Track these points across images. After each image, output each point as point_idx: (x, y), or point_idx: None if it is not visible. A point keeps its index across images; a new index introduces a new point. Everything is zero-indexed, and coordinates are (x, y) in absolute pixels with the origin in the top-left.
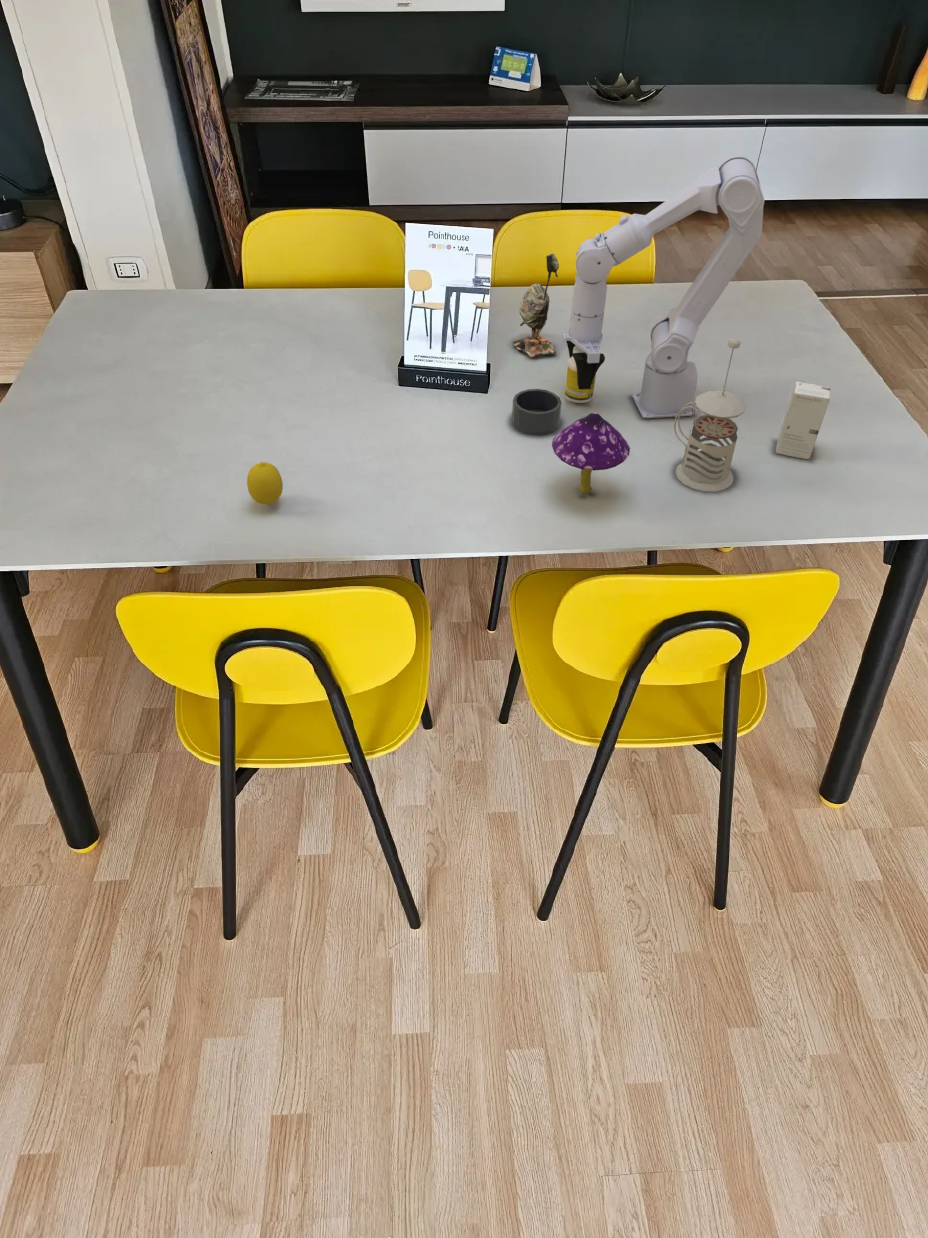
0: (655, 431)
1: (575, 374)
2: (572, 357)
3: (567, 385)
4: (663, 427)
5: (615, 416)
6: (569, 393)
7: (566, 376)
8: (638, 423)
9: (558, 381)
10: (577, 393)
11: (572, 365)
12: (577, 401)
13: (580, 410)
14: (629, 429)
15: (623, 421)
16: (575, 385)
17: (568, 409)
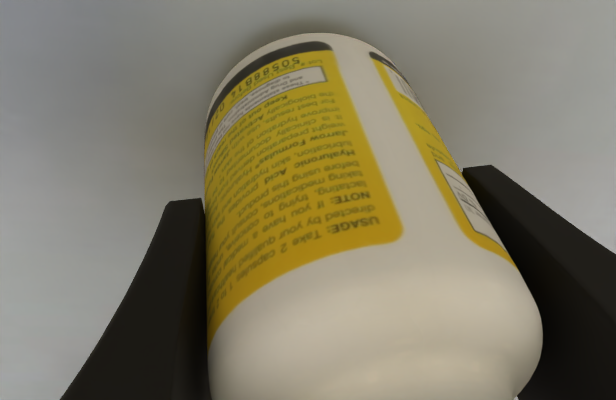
0: (22, 374)
1: (230, 270)
2: (472, 349)
3: (293, 102)
4: (66, 389)
5: (126, 265)
6: (246, 87)
7: (381, 130)
8: (77, 333)
9: (590, 5)
10: (207, 155)
11: (298, 324)
12: (206, 118)
13: (173, 108)
14: (2, 307)
15: (80, 290)
16: (219, 184)
17: (179, 27)
